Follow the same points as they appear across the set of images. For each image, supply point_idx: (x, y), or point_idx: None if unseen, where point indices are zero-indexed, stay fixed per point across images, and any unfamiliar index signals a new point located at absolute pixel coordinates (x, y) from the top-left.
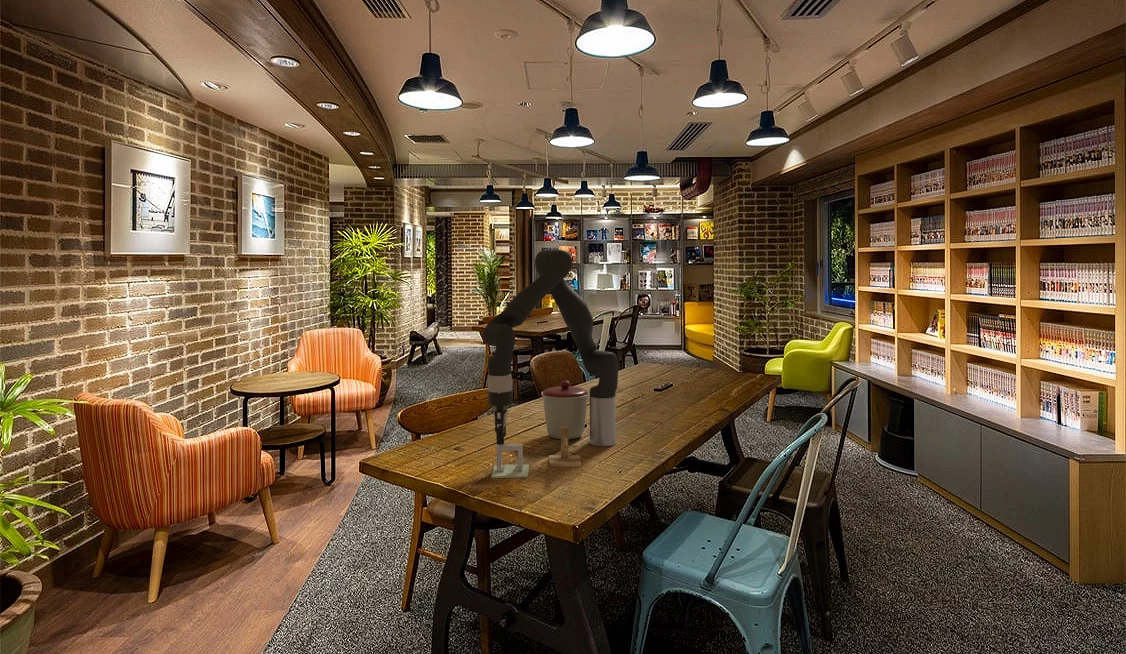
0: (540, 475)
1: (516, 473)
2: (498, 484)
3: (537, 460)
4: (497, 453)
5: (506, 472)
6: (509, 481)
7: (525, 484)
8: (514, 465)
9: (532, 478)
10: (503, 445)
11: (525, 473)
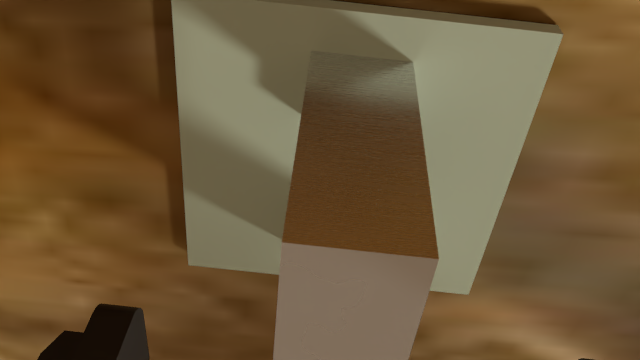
0: (240, 318)
1: (244, 203)
2: (3, 45)
3: (590, 337)
4: (291, 181)
5: (281, 133)
6: (96, 134)
7: (42, 228)
8: (471, 204)
9: (176, 275)
10: (318, 318)
11: (241, 256)
